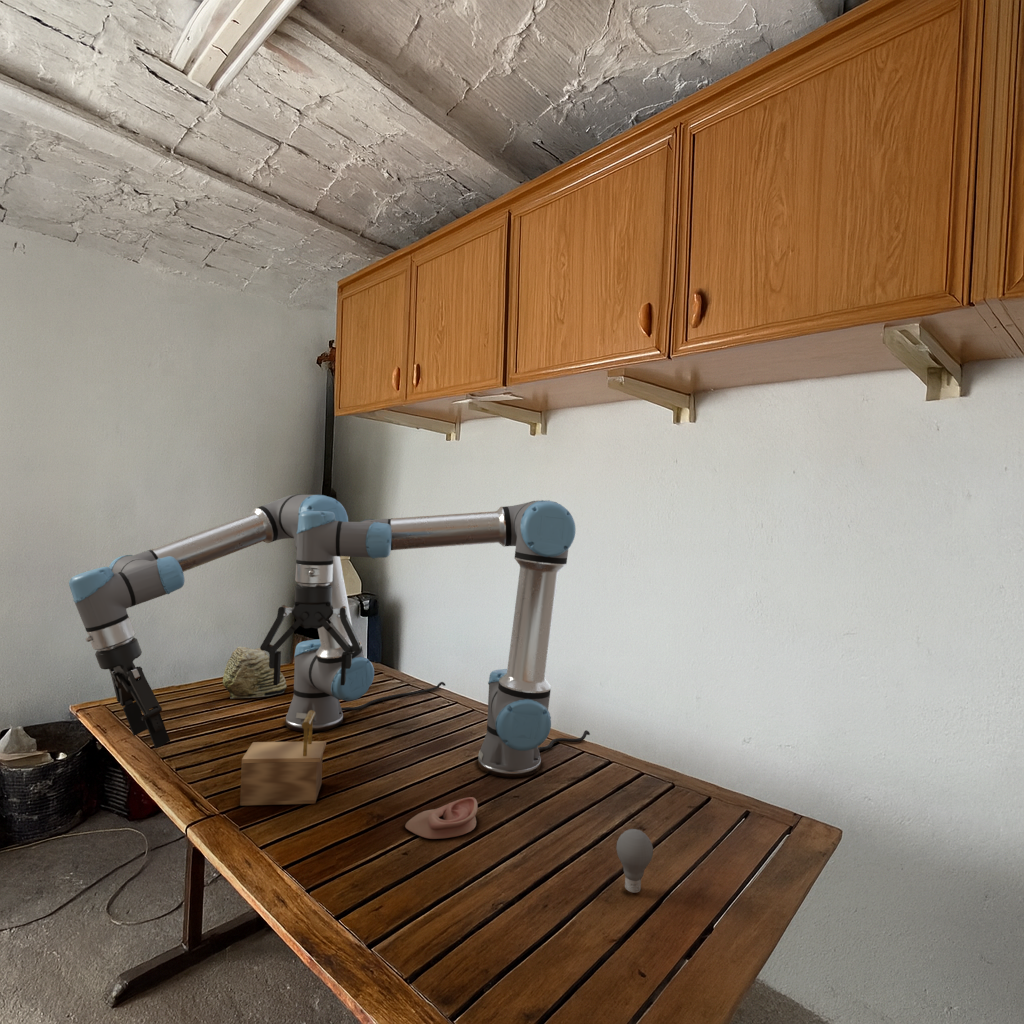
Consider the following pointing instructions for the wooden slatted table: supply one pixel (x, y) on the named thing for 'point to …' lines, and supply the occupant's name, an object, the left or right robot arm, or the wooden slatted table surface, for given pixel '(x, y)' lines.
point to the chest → (280, 783)
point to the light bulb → (634, 857)
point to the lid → (288, 748)
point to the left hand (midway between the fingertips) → (151, 738)
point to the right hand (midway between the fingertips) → (310, 683)
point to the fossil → (251, 675)
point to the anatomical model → (445, 820)
